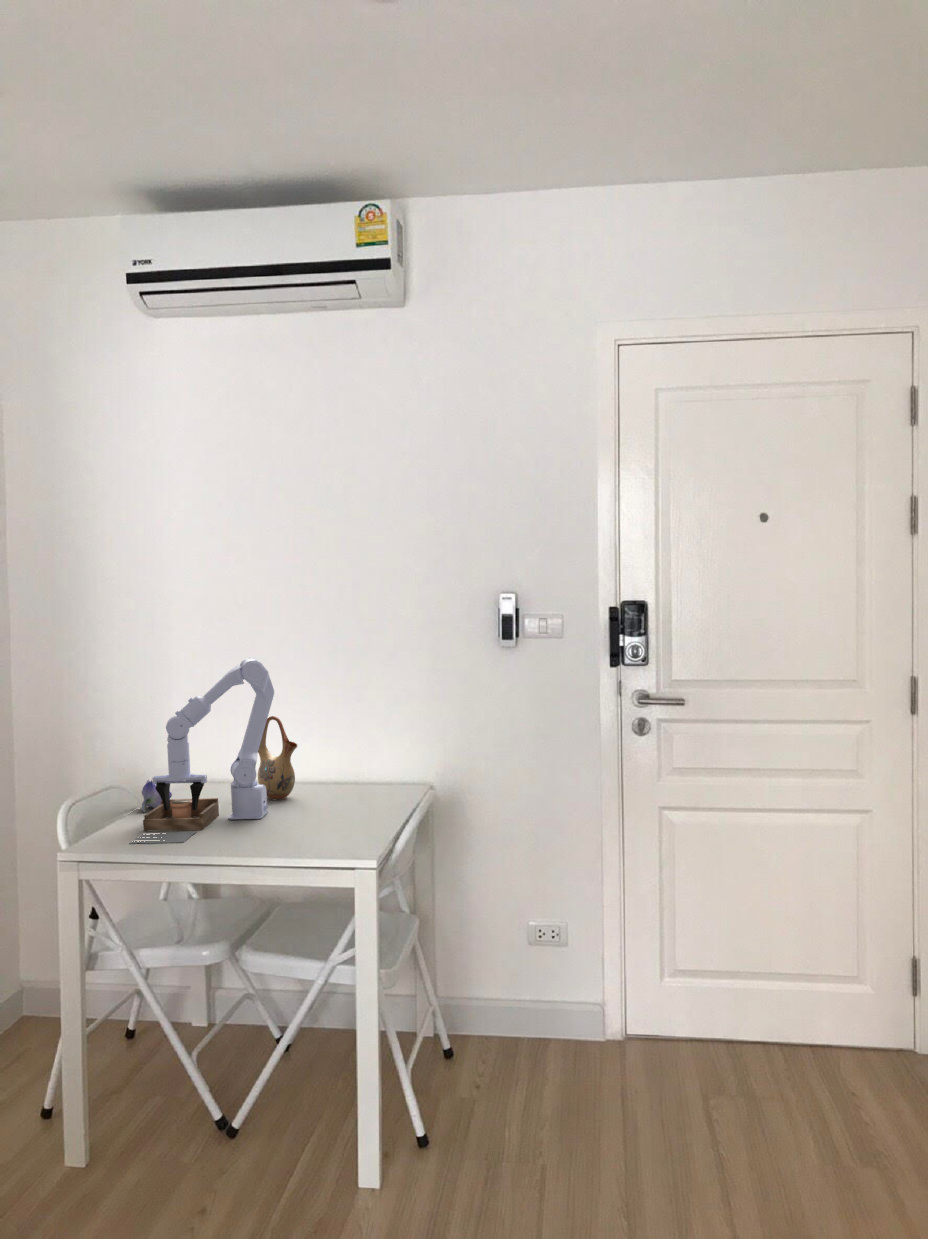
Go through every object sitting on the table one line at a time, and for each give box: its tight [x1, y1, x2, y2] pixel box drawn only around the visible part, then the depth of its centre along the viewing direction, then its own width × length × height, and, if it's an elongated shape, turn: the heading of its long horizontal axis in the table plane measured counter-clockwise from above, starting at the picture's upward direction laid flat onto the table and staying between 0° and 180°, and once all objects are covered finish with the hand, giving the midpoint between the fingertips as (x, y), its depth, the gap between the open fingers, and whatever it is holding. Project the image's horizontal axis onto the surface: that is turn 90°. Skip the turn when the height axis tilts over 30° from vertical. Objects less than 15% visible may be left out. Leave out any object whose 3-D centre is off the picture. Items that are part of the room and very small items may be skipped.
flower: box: [141, 779, 173, 814], centre depth 294 cm, size 9×9×10 cm
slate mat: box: [130, 831, 196, 845], centre depth 262 cm, size 14×10×1 cm
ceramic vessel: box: [257, 715, 299, 800], centre depth 302 cm, size 16×9×25 cm, turn 62°
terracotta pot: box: [170, 798, 192, 818], centre depth 277 cm, size 6×6×6 cm
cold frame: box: [142, 797, 220, 831], centre depth 277 cm, size 16×15×5 cm
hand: (181, 809), depth 276 cm, fingers open, 7 cm apart
